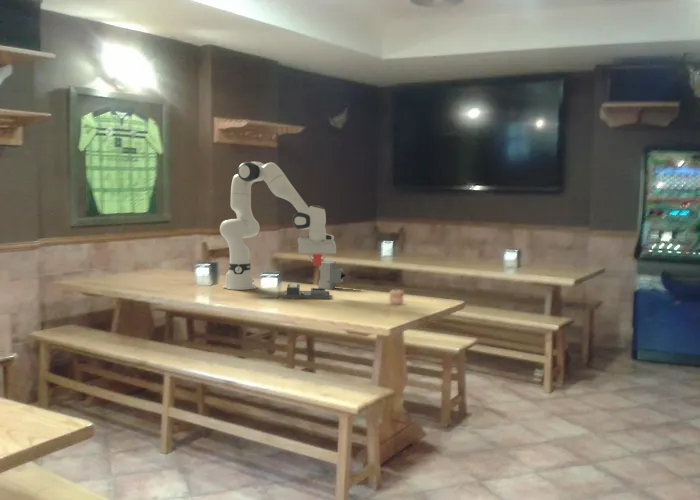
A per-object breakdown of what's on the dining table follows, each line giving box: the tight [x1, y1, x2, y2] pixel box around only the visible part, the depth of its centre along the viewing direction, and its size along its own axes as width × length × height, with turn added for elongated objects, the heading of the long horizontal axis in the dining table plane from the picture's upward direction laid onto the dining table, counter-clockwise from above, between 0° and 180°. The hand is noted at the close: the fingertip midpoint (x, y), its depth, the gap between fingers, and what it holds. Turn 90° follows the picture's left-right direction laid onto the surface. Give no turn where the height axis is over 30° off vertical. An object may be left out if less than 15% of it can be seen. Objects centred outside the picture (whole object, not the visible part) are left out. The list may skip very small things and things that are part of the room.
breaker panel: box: [282, 283, 330, 300], centre depth 361 cm, size 14×24×6 cm, turn 93°
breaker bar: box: [289, 283, 298, 288], centre depth 361 cm, size 11×4×3 cm, turn 3°
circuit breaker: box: [318, 260, 346, 290], centre depth 391 cm, size 8×14×15 cm, turn 78°
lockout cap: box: [312, 254, 323, 267], centre depth 363 cm, size 5×5×6 cm
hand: (317, 262), depth 363 cm, fingers closed on lockout cap, 4 cm apart
